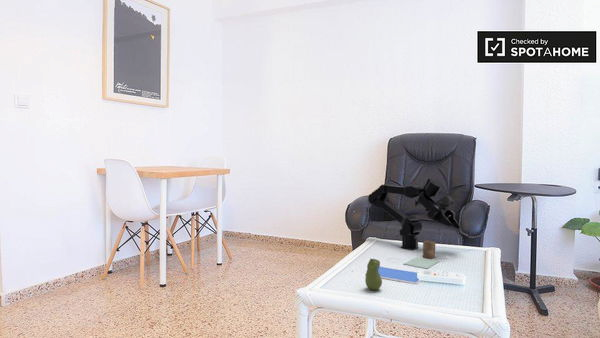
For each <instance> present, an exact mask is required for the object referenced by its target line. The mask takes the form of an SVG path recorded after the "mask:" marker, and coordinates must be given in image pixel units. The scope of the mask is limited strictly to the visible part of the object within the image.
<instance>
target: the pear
mask: <svg viewBox="0 0 600 338" xmlns="http://www.w3.org/2000/svg"><path fill="white" fill-rule="evenodd" d="M380 265H381V262H380V260H379V259H376V258H370V259H369V261H368V263H367V265H366V273H365V281H364V282H365V285H366V287H367V288H368V289H369V290H371V291H377V290H380V288H381V287H382V285H383V280H382V279H383V278H381V277H380V274H379V272H378V270H379V267H381V266H380Z"/></svg>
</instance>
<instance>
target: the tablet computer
mask: <svg viewBox="0 0 600 338" xmlns="http://www.w3.org/2000/svg"><path fill="white" fill-rule="evenodd" d="M378 272H379V274H380V277H381V279H384V280H389V281H396V282H399V283H406V284H412V285H418V284H420V283H421V281H420V280H419V279H418V278H417V273H418V272H415V271H409V270H402V269H397V268H391V267H384V266H380V267H379V270H378Z"/></svg>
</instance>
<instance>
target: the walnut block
mask: <svg viewBox="0 0 600 338" xmlns="http://www.w3.org/2000/svg"><path fill="white" fill-rule="evenodd" d="M422 258H425V259H431V260H434V259H435V258H436V241H434V240H424V241H423V242H422Z"/></svg>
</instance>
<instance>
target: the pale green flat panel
mask: <svg viewBox="0 0 600 338" xmlns="http://www.w3.org/2000/svg"><path fill="white" fill-rule="evenodd" d="M438 263H440V260H437V259H427V258H423V257H418V256H416V257H415V258H412V259H409V260H408V261H406V262H404V263H403V266H409V267H415V268H416V267H417V268H419V269H425V270H428V269H430V268H431V267H434V265H436V264H438Z"/></svg>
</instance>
